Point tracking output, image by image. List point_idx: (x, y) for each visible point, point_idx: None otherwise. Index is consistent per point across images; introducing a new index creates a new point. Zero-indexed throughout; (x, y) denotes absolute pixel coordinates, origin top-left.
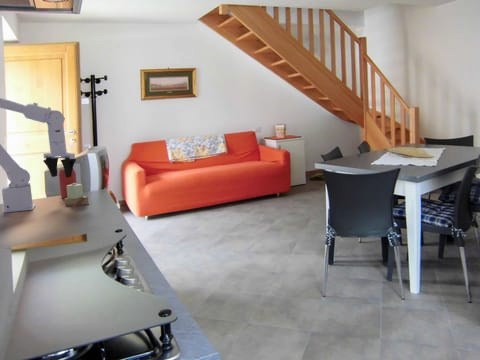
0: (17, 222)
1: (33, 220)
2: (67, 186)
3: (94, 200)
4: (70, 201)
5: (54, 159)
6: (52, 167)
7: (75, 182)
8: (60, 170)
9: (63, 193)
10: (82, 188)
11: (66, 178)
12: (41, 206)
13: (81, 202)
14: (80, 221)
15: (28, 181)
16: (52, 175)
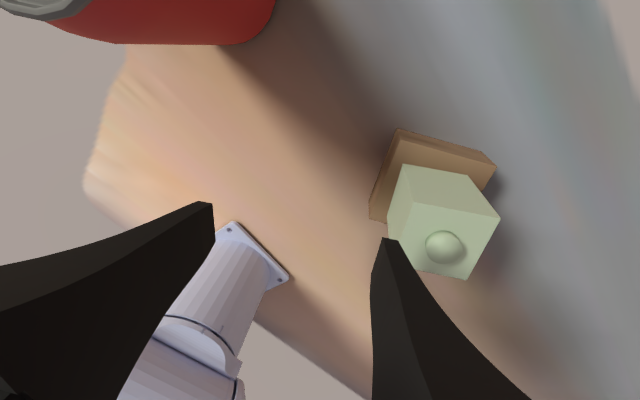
0: (362, 374)
1: None
2: None
3: (484, 63)
4: None
5: (43, 370)
6: (153, 298)
7: None
8: (9, 3)
9: (217, 44)
10: (486, 202)
11: (181, 26)
12: (271, 224)
13: None
14: (566, 376)
15: (244, 392)
16: (208, 252)
